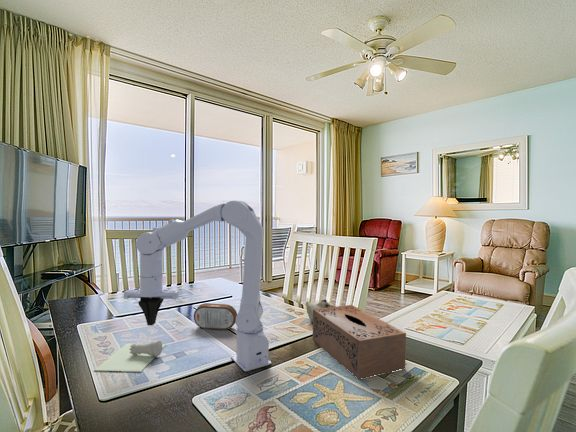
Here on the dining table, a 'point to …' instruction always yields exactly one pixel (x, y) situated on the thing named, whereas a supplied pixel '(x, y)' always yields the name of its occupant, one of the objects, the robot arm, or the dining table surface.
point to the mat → (126, 361)
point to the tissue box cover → (359, 340)
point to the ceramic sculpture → (317, 307)
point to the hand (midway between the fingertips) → (151, 324)
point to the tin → (215, 316)
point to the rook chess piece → (147, 348)
